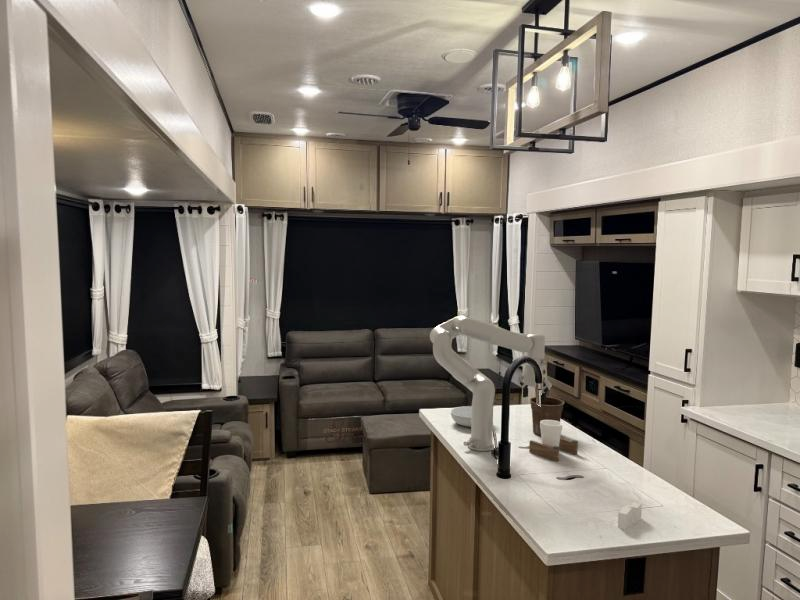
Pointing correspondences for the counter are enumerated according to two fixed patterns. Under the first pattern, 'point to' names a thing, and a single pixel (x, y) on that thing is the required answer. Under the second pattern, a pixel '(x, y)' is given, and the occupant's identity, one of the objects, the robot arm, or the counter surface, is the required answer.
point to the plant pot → (545, 412)
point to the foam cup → (550, 432)
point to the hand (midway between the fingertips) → (534, 399)
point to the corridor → (553, 448)
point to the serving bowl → (462, 415)
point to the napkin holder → (629, 515)
